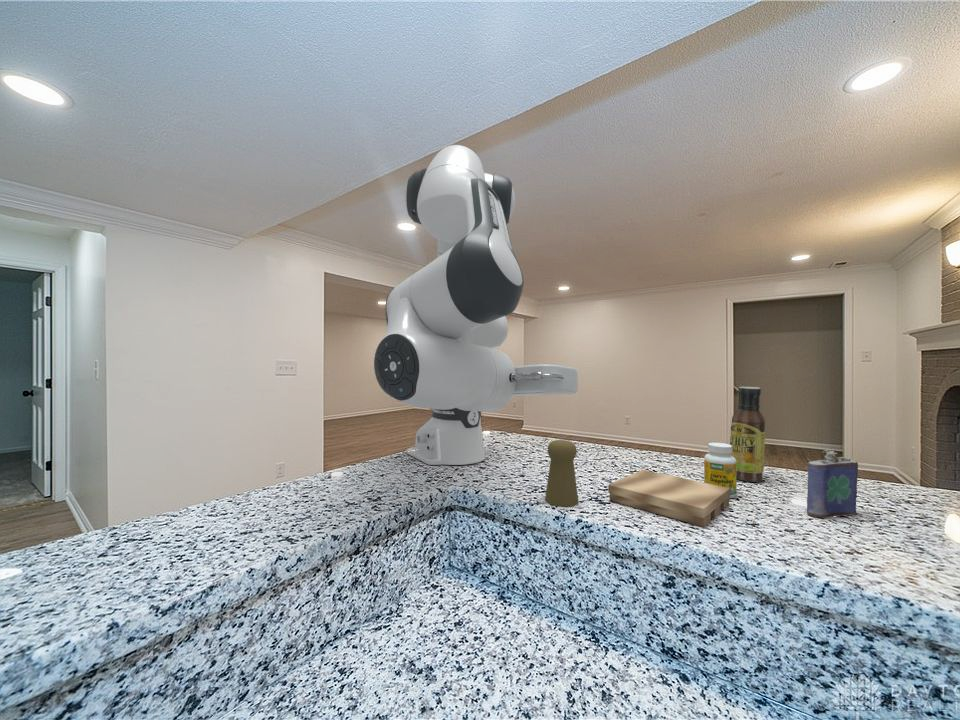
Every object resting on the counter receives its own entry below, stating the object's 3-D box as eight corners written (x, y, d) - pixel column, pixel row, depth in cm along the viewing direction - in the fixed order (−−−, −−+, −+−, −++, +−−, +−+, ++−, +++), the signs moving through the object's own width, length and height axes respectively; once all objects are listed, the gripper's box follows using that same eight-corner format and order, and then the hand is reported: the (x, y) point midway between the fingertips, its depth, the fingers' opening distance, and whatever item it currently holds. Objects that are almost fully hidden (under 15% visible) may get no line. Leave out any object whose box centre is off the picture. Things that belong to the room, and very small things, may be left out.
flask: (817, 519, 67) (818, 453, 67) (799, 512, 70) (800, 449, 69) (861, 515, 69) (862, 451, 68) (842, 508, 71) (843, 447, 71)
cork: (582, 507, 72) (582, 444, 71) (547, 506, 72) (547, 444, 72) (574, 495, 78) (575, 437, 78) (542, 494, 78) (543, 437, 78)
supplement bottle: (732, 491, 80) (733, 442, 80) (739, 500, 75) (740, 448, 75) (701, 488, 82) (702, 440, 82) (706, 497, 77) (706, 446, 77)
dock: (608, 501, 75) (608, 484, 75) (642, 484, 84) (642, 469, 84) (703, 528, 63) (703, 508, 63) (729, 504, 73) (730, 488, 73)
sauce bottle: (722, 476, 90) (723, 386, 89) (740, 473, 92) (741, 385, 92) (752, 485, 84) (754, 388, 84) (771, 481, 87) (772, 387, 86)
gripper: (550, 349, 50) (595, 362, 61) (431, 362, 63) (486, 371, 73) (551, 400, 49) (596, 405, 60) (430, 403, 62) (485, 406, 72)
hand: (534, 386), depth 67 cm, fingers open, 8 cm apart
